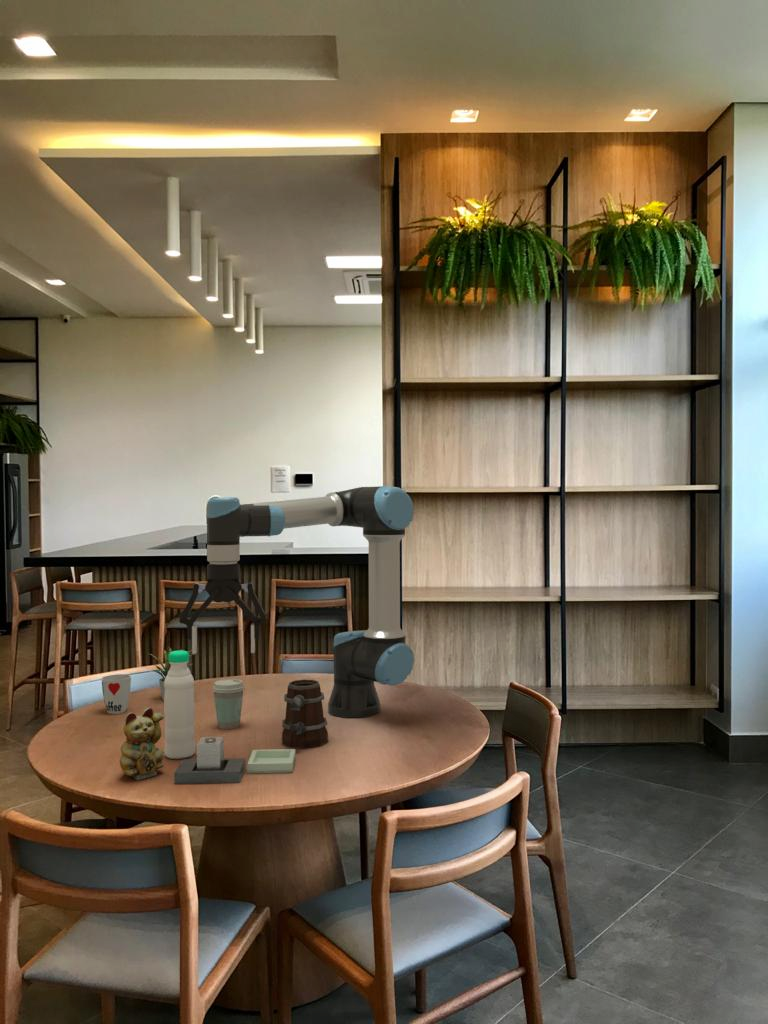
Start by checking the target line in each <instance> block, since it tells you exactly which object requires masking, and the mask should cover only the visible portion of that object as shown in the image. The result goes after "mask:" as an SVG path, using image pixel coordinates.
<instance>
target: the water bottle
mask: <svg viewBox="0 0 768 1024" xmlns="http://www.w3.org/2000/svg"><path fill="white" fill-rule="evenodd" d="M168 654H169V663H170V664H171V667H170V669H169V671H168V674H167V676H166V678H165V677H164V678H165V681H164V687H165V695H164V701H163V705H164V706H163V708H164V709H163V710H164V711H163V712H164V713H163V714H164V715H163V716H164V724H165V727H164V740H165V742H164V757H166V758H168V759H172V760H183V759H189V758H190V757H192V756H193V755H194V754H195V752H196V743H195V734H196V733H195V691H194V685H195V680H194V676H193V675H192V673H191V670H190V668H189V666H188V667H187V665H188V663H189V662H190V652H189V653H188V650H187V651H186V650H182V651H180V650H172V652H170V651H169V652H168Z"/></svg>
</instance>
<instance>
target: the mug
mask: <svg viewBox="0 0 768 1024" xmlns="http://www.w3.org/2000/svg"><path fill="white" fill-rule="evenodd" d="M286 692H287V693H285V694H284V696H283V697H284V698H283V699H284V702H286V708H285V718H283V719H282V720H281V721H282V723H281V724H282V727H281V728H283V729H282V733H281V743H282V745H284V746H286V747H289V748H290V749H309V748H311V749H312V748H315V747H316V748H317V747H320V746H322V745H324V744H327V743H328V742H329V733H328V730H327V727H326V726H327V725H328V718H327V717H325V716H324V708H323V700H324V699H325V694H324V692H322V690H321V685H320V682H319V681H318V680H316V679H315V680H314V679H305V678H304V679H303V678H302V679H297V680H293V681H290V682H288V685H287V691H286Z"/></svg>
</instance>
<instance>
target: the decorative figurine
mask: <svg viewBox="0 0 768 1024" xmlns="http://www.w3.org/2000/svg"><path fill="white" fill-rule="evenodd" d="M163 719H165V716H164V715H163V714H162V713H160V712H155V713H154V710H153V708H151V707H147V708H145V709H144V710H143V711H142V713H141V714H140V715H137V714H136V713H134V712H129V713H127V715H126V717H125V721H124V724H123V734H124V735H125V738H126V740H125V741H124V742H123V743H122V745H121V747H120V752H121V755H120V758H119V766H120V768H121V771H122V773H123V774H124V775H127V776H129V777H132V779H135V780H136V781H139V780H145V779H147V778H151V777H155V776H157V775H158V771H157V770H159V769H162V768H164V767H165V763H164V762H163V759H164V757H165V753H164V751H163V750H162V749H161V748H159V747H156V744H157V743H158V742H159V740H160V739H161V737H162V727H161V724H160V721H162V720H163Z"/></svg>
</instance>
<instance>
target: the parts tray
mask: <svg viewBox="0 0 768 1024" xmlns="http://www.w3.org/2000/svg"><path fill="white" fill-rule="evenodd" d="M295 761H296V748H286V749H285V748H284V749H282V748H281V749H275V748H274V749H252V751H251V753H250V757H249V759H248V761H247V765H246V767H247V768H246V769H247V773H246V774H248V775H250V774H251V775H253V774H257V775H258V774H292V773H293V771H294V766H295V763H296V762H295Z"/></svg>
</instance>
